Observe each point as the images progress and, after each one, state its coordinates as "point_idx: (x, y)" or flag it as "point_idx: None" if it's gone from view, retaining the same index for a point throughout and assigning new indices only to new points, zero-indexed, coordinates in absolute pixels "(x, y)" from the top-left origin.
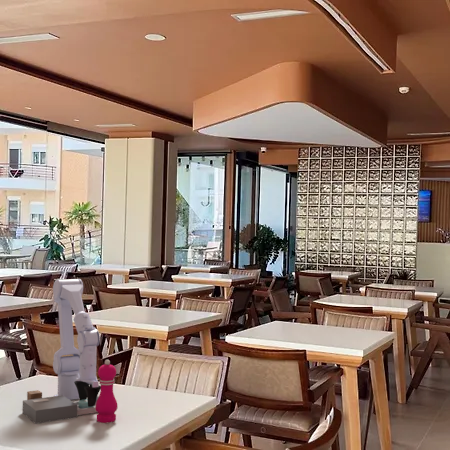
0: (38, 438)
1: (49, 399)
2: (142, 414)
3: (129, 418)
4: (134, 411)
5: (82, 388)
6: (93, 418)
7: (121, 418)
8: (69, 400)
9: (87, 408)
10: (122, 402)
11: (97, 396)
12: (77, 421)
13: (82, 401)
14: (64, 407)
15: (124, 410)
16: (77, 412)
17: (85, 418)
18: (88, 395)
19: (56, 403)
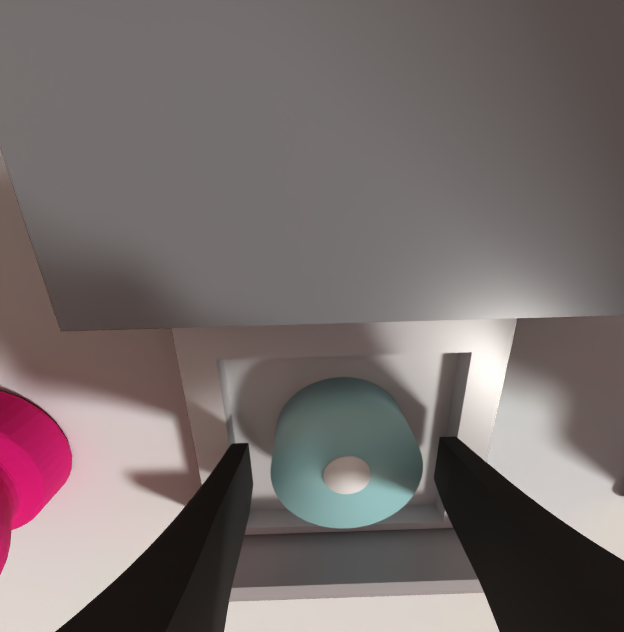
0: None
1: (588, 4)
2: None
3: (15, 559)
4: None
5: (527, 599)
6: (74, 388)
7: (26, 528)
8: (324, 308)
9: (205, 419)
10: (373, 620)
11: (388, 584)
12: (12, 246)
13: (349, 443)
14: (7, 116)
15: None
16: None
17: (91, 337)
18: (141, 557)
19: (242, 36)
